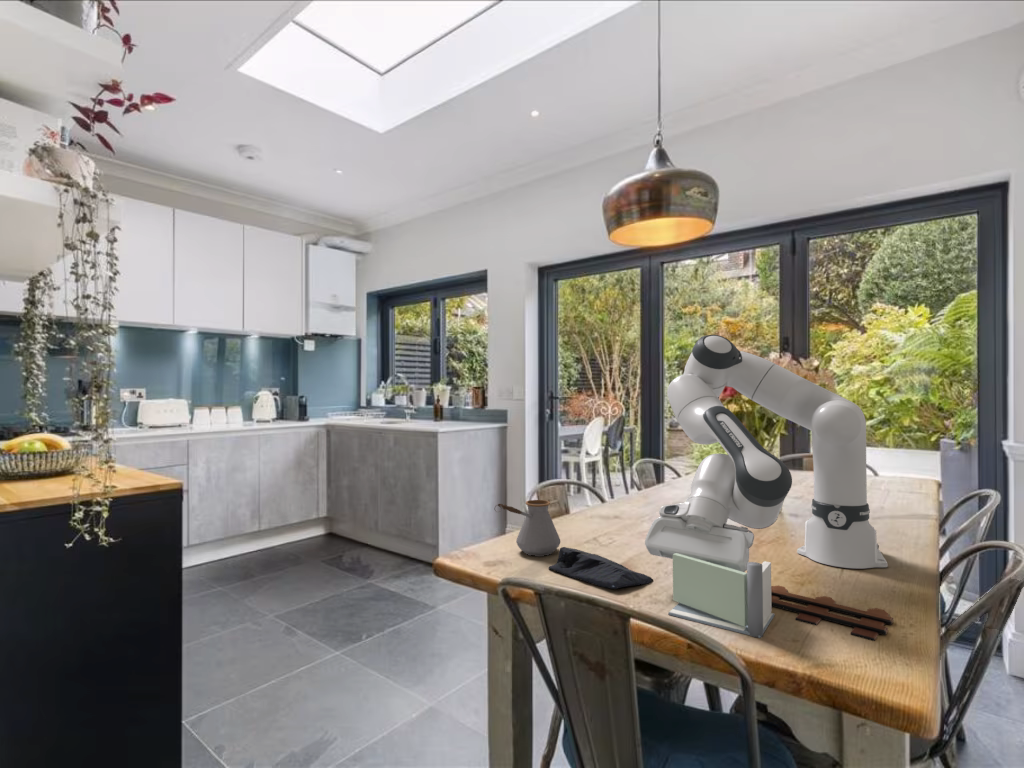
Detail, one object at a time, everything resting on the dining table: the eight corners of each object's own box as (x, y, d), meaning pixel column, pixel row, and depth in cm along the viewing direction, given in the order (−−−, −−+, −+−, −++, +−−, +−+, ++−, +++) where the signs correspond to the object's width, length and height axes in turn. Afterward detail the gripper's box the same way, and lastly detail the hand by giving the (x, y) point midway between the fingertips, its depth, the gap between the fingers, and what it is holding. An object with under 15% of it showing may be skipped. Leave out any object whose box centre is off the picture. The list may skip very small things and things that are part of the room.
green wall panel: (748, 624, 95) (747, 573, 95) (744, 626, 94) (744, 574, 94) (676, 598, 107) (676, 553, 107) (673, 600, 106) (672, 554, 106)
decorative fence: (882, 647, 89) (898, 619, 100) (882, 637, 90) (898, 609, 100) (740, 609, 105) (767, 588, 116) (740, 600, 105) (767, 580, 116)
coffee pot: (535, 542, 149) (534, 488, 149) (569, 551, 141) (568, 493, 141) (480, 562, 133) (479, 501, 133) (515, 572, 125) (515, 507, 125)
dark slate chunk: (608, 599, 110) (608, 575, 110) (542, 569, 128) (542, 549, 128) (659, 583, 119) (659, 561, 119) (591, 557, 137) (591, 539, 137)
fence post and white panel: (761, 613, 101) (760, 549, 101) (775, 616, 100) (774, 551, 100) (746, 635, 93) (745, 564, 93) (761, 638, 91) (760, 567, 91)
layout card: (688, 596, 110) (688, 593, 110) (774, 615, 100) (774, 613, 100) (668, 614, 101) (668, 612, 101) (760, 638, 92) (760, 635, 92)
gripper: (759, 537, 109) (745, 602, 101) (661, 521, 122) (643, 577, 114) (752, 520, 105) (737, 585, 98) (653, 505, 118) (633, 562, 110)
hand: (685, 581), depth 106 cm, fingers closed
